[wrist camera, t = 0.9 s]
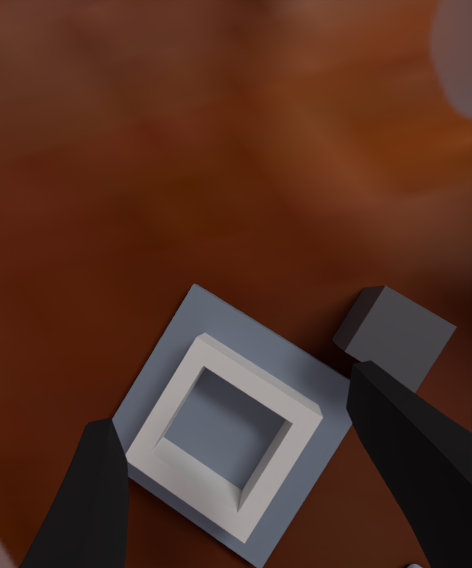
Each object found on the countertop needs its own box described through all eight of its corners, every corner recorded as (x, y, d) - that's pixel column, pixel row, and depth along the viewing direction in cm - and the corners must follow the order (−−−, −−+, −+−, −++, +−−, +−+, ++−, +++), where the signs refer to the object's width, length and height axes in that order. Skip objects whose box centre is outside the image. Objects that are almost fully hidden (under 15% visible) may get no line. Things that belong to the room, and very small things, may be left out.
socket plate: (367, 389, 24) (382, 405, 20) (261, 558, 24) (258, 602, 21) (196, 284, 25) (183, 282, 22) (100, 445, 26) (72, 468, 22)
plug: (419, 320, 24) (456, 326, 19) (386, 373, 24) (414, 394, 19) (363, 287, 24) (385, 285, 19) (331, 340, 24) (344, 351, 19)
